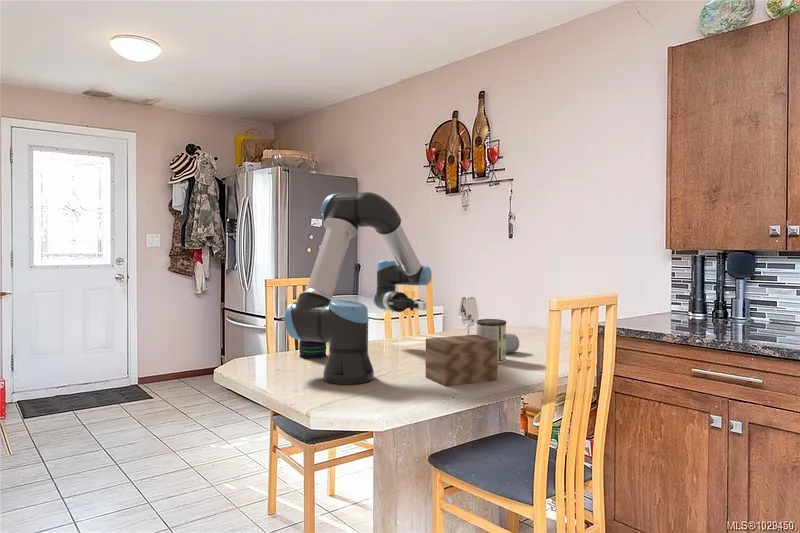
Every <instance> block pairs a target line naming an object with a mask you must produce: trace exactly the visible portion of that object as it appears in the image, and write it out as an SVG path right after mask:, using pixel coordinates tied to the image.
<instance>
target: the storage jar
mask: <svg viewBox="0 0 800 533" xmlns="http://www.w3.org/2000/svg"><path fill="white" fill-rule="evenodd" d="M298 346H299V347H298V349H299V350H298V351H299V358H300V359H304V360H317V359H318V360H319V359H325V358H326V357H327V342H316V341H302V340H299V345H298Z"/></svg>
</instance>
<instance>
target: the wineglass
mask: <svg viewBox="0 0 800 533" xmlns="http://www.w3.org/2000/svg"><path fill="white" fill-rule="evenodd" d="M478 308H479V307H478V304H477V299H476V297H471V296H470V297H468V296H467V297H466V296H465V297H461V298H460V304H459V308H458V315H457V316H458V320H459V322H460V324H462V325H463V326H464V327H466V335H470V328H471V327H473V326H474V325H475V324H477V320H479V309H478Z"/></svg>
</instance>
